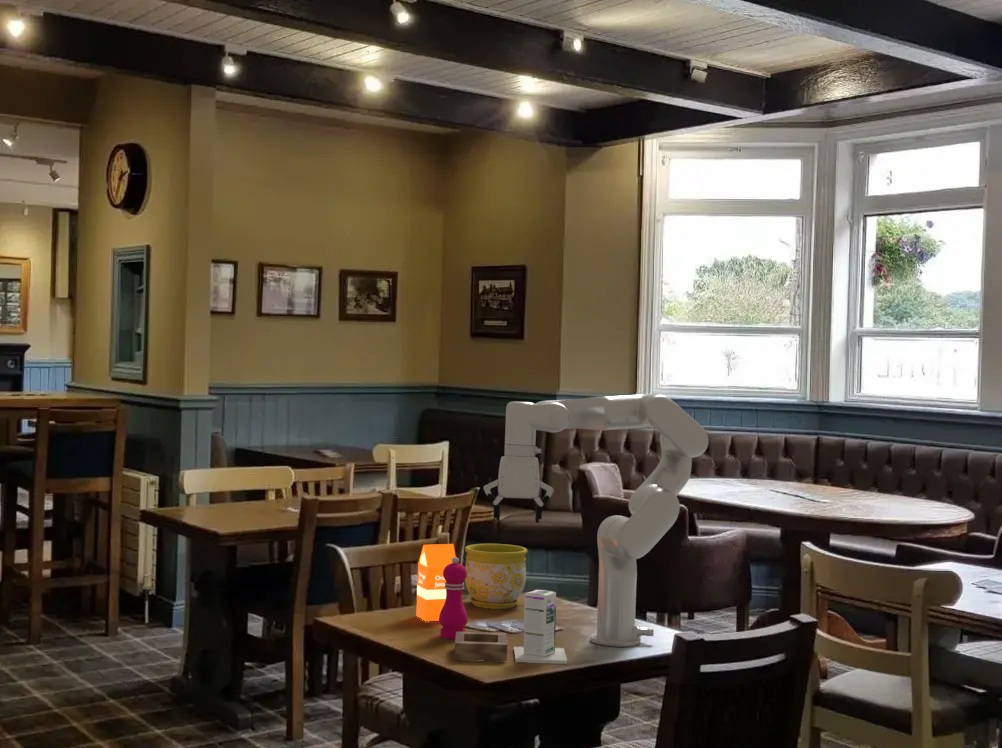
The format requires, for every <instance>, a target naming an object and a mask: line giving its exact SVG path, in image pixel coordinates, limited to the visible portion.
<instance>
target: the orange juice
mask: <svg viewBox="0 0 1002 748" xmlns="http://www.w3.org/2000/svg"><path fill="white" fill-rule="evenodd" d="M454 557H457V555H456V551H455V546H454V543H442V544H441V543H440V544H437V543H436V544H423V546H422V549H421V552H420V556H419V559H418V562H417V585H416V609H415V611H416V613H415V617H416V616H417V617H416V618H418V617H419V618H421V619H422V620H421V619H420V620H421V621H423V620H424V621H425V623H430V622H429V621H439V615H440V612H441V610H442V608H443V606H444V603H445V600H446V589H445V588H444V587H445V582H446V580H445V579H444V577H443V571H444V568H445V567H446V566H447V565H448V564H451V563H452V559H453V558H454ZM419 618H418V619H419ZM424 621H423V622H424ZM426 621H428V622H426Z"/></svg>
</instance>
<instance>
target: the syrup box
mask: <svg viewBox="0 0 1002 748" xmlns="http://www.w3.org/2000/svg"><path fill="white" fill-rule="evenodd" d="M523 603H524V606H523V607H524V609H523V610H524V611H523V612H524V613H523V647H524V654H528V655H533V656H539V657H546V656H547V655H549V654H552V653H554V652H555V648H556V624H557V623H556V621H557V619H556V618H557V616H556V615H557V613H556V612H557V592H556V591H553V590H546V589H534V590H532V591H529V592H525V593H524V602H523Z"/></svg>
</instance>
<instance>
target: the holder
mask: <svg viewBox="0 0 1002 748" xmlns="http://www.w3.org/2000/svg"><path fill="white" fill-rule="evenodd" d="M507 659H508V639H507V632H488V631H487V632H484V631H465V632H457V631H456V639H454V660H467V661H466V662H470V661H469V660H484V661H483V662H486V661H507V662H508V660H507Z"/></svg>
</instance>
